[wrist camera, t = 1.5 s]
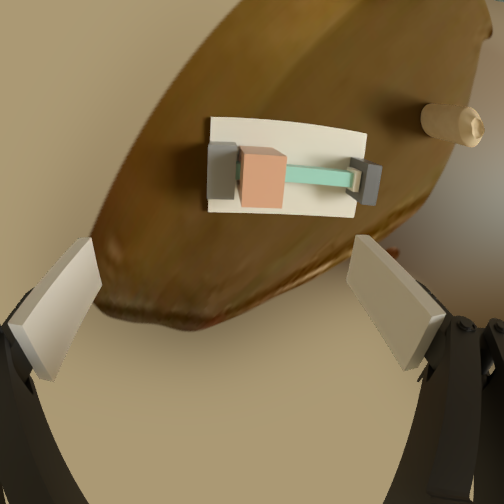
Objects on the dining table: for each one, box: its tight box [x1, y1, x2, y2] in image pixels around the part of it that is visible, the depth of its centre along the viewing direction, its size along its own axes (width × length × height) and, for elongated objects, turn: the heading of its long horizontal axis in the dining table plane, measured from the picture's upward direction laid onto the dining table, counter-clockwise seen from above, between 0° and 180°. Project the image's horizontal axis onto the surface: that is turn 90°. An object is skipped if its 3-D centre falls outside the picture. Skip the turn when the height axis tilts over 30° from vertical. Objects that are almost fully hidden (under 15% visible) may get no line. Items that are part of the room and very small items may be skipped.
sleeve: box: [237, 146, 287, 209], centre depth 30 cm, size 5×4×8 cm
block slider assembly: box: [207, 117, 382, 218], centre depth 32 cm, size 12×20×6 cm, turn 86°
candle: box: [421, 103, 485, 147], centre depth 28 cm, size 6×6×10 cm
